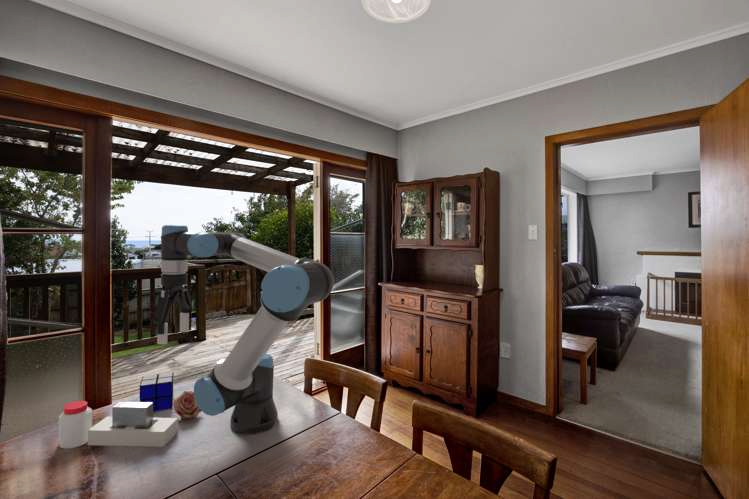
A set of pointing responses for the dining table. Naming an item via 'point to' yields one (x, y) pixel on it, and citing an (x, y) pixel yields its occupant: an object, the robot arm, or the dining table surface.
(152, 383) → the puzzle cube
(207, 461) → the dining table surface
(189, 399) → the flower
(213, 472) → the dining table surface
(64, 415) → the pill bottle
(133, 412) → the gray rectangular block
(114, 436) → the block with rectangular holes
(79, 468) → the dining table surface
